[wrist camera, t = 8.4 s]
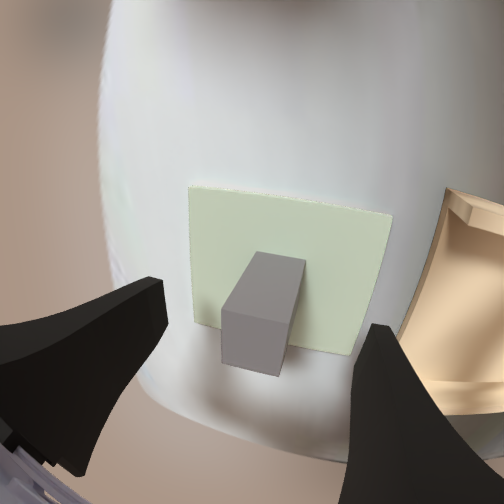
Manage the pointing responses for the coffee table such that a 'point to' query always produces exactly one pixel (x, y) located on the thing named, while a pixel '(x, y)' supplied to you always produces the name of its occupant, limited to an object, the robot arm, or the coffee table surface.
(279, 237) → the cover plate
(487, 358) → the box
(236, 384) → the coffee table surface
